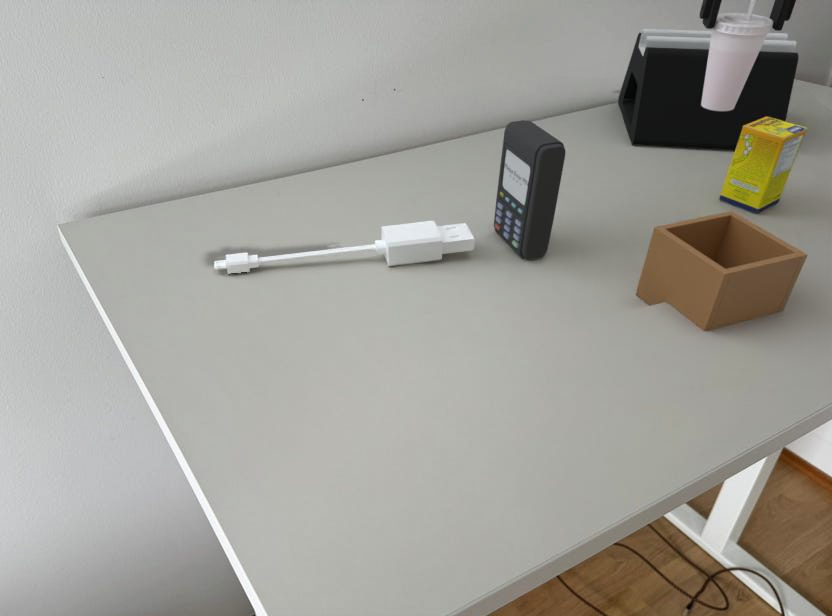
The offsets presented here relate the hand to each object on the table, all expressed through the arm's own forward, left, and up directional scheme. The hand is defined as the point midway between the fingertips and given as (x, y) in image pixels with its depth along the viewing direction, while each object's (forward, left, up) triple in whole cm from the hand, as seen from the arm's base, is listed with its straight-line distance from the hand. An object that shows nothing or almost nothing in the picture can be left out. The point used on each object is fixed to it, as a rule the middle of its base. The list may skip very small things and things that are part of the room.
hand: (741, 25), depth 80 cm
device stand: (-27, -30, -26) cm, 48 cm away
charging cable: (+45, -8, -26) cm, 52 cm away
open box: (+11, +17, -25) cm, 32 cm away
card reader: (+23, -4, -26) cm, 34 cm away
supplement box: (-14, -3, -26) cm, 29 cm away
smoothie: (0, 0, -9) cm, 9 cm away
